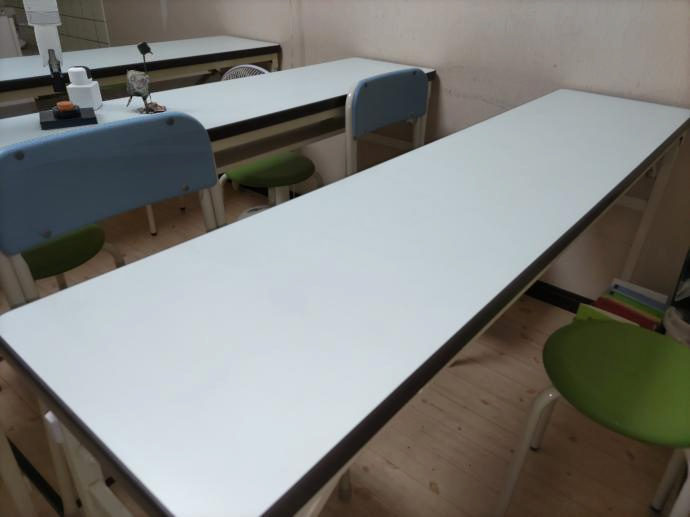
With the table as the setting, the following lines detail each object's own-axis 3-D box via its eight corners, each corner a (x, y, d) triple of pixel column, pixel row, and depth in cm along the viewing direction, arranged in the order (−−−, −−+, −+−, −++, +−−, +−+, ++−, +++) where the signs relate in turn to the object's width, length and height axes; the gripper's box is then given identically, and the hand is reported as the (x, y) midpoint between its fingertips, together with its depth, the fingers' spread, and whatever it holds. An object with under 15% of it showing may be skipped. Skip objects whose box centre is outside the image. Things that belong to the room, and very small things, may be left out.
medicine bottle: (79, 104, 160) (69, 64, 154) (103, 104, 161) (94, 64, 155) (72, 110, 154) (61, 69, 148) (96, 110, 155) (86, 69, 149)
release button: (58, 111, 141) (56, 105, 140) (57, 108, 144) (56, 101, 143) (74, 110, 142) (73, 104, 141) (73, 106, 145) (72, 100, 144)
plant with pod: (131, 108, 159) (117, 39, 148) (169, 107, 160) (157, 39, 150) (125, 116, 152) (110, 44, 142) (165, 115, 153) (152, 43, 143)
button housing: (41, 129, 138) (37, 115, 136) (41, 119, 146) (37, 105, 144) (97, 124, 144) (94, 110, 141) (94, 114, 152) (91, 101, 150)
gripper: (27, 15, 135) (44, 86, 144) (26, 22, 124) (45, 99, 133) (58, 15, 138) (73, 85, 147) (61, 22, 127) (77, 97, 136)
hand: (60, 91), depth 140 cm, fingers closed
